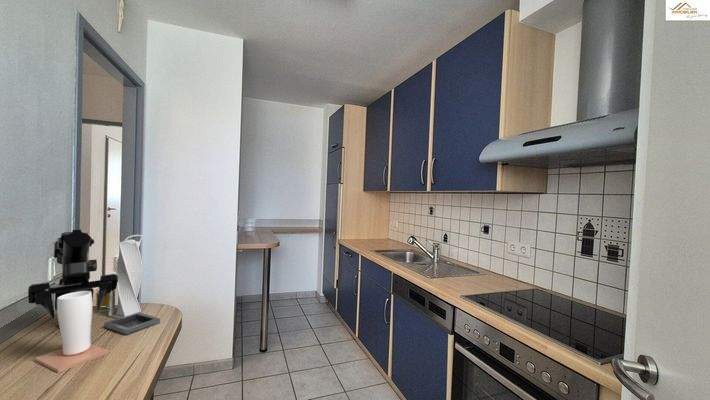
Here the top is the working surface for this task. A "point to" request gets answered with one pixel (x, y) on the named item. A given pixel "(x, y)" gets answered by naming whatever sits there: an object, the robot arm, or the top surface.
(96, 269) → the robot arm
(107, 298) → the supplement bottle
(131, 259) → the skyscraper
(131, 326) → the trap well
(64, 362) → the terracotta tile
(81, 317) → the white cup
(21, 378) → the top surface
